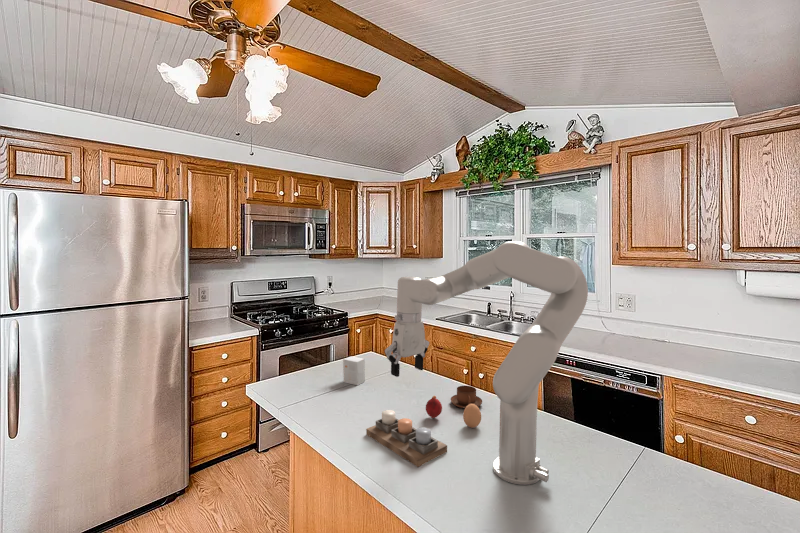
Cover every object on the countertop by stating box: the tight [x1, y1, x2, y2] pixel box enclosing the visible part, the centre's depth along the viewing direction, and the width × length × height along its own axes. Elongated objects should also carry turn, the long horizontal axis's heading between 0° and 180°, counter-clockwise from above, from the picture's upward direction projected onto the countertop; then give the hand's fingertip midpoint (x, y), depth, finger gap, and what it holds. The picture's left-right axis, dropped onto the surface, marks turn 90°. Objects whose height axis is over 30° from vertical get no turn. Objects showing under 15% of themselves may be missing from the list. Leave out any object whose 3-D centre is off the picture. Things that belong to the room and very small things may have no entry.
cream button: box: [381, 409, 396, 425], centre depth 126 cm, size 4×4×3 cm
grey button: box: [415, 427, 432, 445], centre depth 113 cm, size 4×4×3 cm
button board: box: [365, 417, 448, 468], centre depth 120 cm, size 24×12×4 cm, turn 41°
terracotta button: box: [398, 417, 413, 435], centre depth 120 cm, size 4×4×3 cm
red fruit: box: [425, 395, 443, 419], centre depth 137 cm, size 6×6×8 cm
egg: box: [462, 404, 482, 429], centre depth 130 cm, size 6×6×8 cm
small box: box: [342, 355, 366, 386], centre depth 172 cm, size 8×6×10 cm
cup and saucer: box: [450, 385, 483, 409], centre depth 148 cm, size 12×12×6 cm
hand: (407, 372), depth 119 cm, fingers open, 9 cm apart
